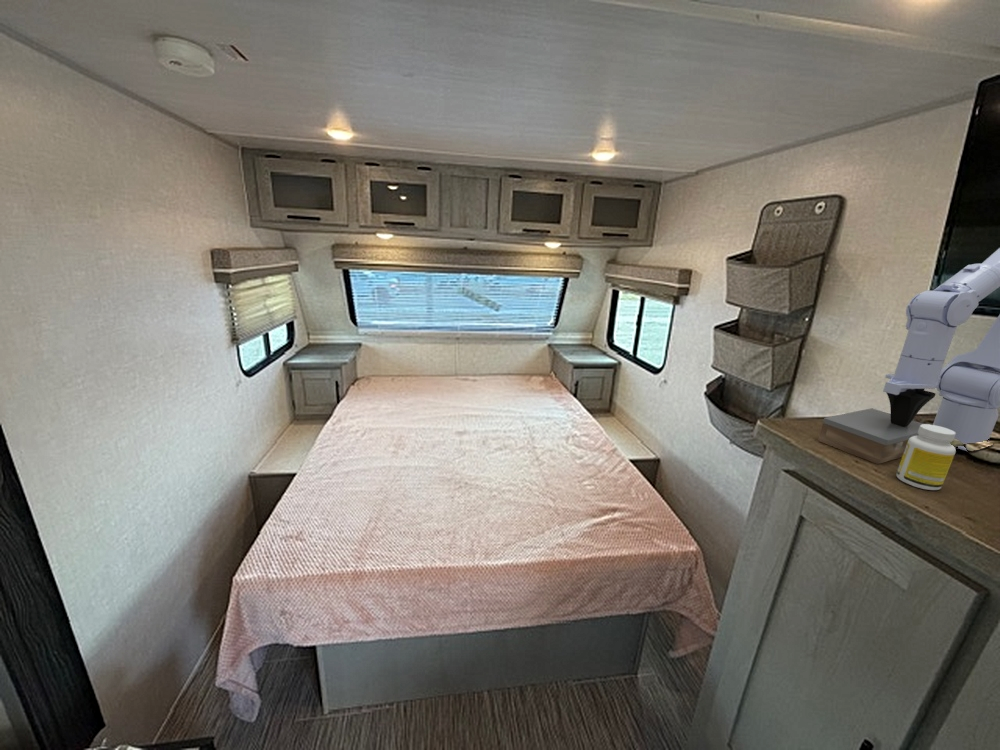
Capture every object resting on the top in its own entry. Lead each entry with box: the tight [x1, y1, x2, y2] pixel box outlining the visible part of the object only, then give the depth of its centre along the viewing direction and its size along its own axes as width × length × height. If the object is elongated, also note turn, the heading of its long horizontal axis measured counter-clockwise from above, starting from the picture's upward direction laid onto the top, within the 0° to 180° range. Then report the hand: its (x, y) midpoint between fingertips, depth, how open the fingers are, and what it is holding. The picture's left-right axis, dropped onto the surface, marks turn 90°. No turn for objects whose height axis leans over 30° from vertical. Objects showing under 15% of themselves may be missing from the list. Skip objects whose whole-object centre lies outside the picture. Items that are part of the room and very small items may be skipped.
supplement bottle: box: [895, 423, 957, 491], centre depth 65 cm, size 5×5×10 cm
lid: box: [822, 408, 924, 446], centre depth 78 cm, size 16×10×1 cm, turn 112°
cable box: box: [817, 422, 908, 465], centre depth 79 cm, size 16×10×4 cm, turn 112°
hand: (898, 424), depth 77 cm, fingers closed, pressing on lid
